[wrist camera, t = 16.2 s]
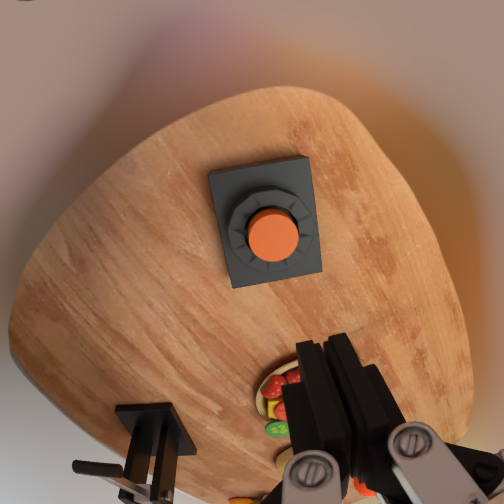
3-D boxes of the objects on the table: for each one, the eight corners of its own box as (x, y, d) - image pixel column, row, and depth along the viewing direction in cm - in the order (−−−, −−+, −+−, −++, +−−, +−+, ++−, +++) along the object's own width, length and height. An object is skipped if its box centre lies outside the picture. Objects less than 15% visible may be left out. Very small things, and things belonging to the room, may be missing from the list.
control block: (209, 171, 26) (205, 178, 22) (303, 154, 26) (314, 158, 22) (232, 277, 30) (232, 299, 26) (316, 262, 30) (328, 280, 26)
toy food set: (368, 341, 34) (379, 359, 31) (353, 414, 39) (360, 431, 36) (252, 356, 33) (253, 376, 30) (257, 428, 38) (259, 446, 35)
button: (243, 213, 24) (244, 219, 22) (290, 204, 24) (295, 210, 22) (252, 256, 25) (253, 265, 24) (296, 248, 25) (301, 256, 24)
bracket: (116, 405, 36) (92, 483, 24) (171, 402, 36) (158, 489, 24) (147, 450, 40) (135, 519, 28) (196, 448, 40) (192, 522, 28)
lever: (73, 453, 22) (70, 475, 20) (117, 457, 22) (115, 481, 20) (134, 487, 29) (133, 504, 27) (170, 489, 29) (171, 506, 27)
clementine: (396, 455, 45) (408, 484, 39) (372, 474, 47) (381, 502, 41) (366, 453, 44) (378, 485, 37) (342, 473, 46) (350, 504, 39)
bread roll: (323, 435, 40) (329, 456, 36) (329, 461, 43) (334, 480, 40) (268, 448, 40) (271, 470, 37) (280, 473, 44) (283, 492, 40)
